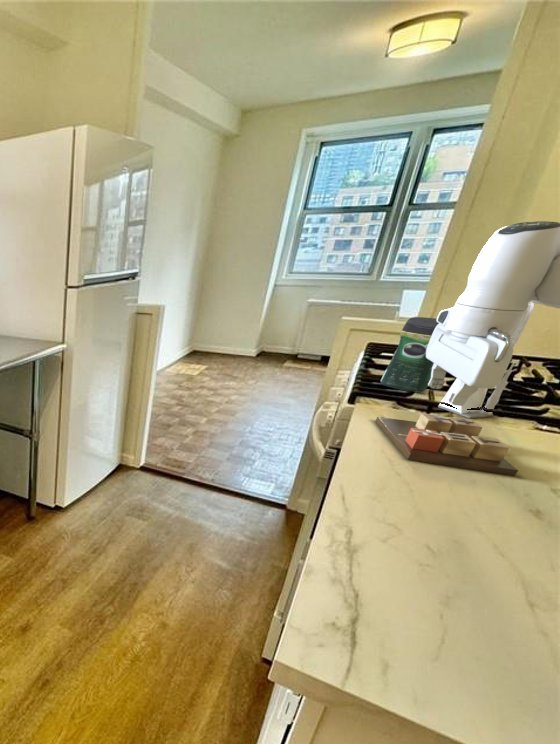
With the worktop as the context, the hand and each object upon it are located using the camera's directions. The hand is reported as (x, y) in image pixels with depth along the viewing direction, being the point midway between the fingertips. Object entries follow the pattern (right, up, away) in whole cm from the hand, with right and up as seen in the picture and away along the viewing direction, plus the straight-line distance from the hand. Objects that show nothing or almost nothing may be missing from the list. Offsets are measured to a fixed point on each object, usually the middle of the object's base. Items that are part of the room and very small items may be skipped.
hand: (444, 395), depth 92 cm
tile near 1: (+13, -7, +10) cm, 18 cm away
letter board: (+7, -10, +8) cm, 14 cm away
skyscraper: (+29, -1, +25) cm, 38 cm away
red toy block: (0, -10, +5) cm, 11 cm away
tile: (+5, -11, +3) cm, 12 cm away
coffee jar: (+28, +7, +39) cm, 49 cm away
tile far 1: (+9, -11, +2) cm, 15 cm away
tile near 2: (+9, -6, +11) cm, 16 cm away
